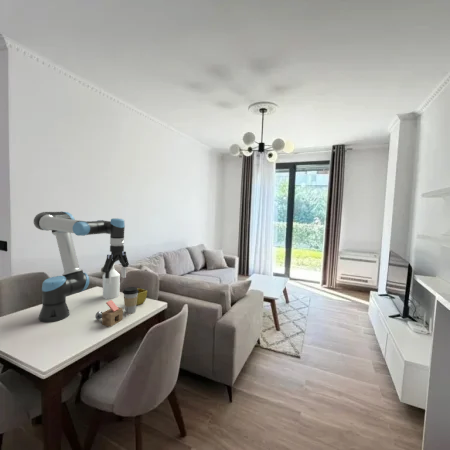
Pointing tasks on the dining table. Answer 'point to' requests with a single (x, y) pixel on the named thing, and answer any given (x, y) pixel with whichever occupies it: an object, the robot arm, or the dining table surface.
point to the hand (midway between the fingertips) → (116, 280)
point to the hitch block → (112, 317)
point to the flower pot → (141, 296)
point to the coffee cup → (130, 299)
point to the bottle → (111, 285)
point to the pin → (99, 315)
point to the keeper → (112, 305)
